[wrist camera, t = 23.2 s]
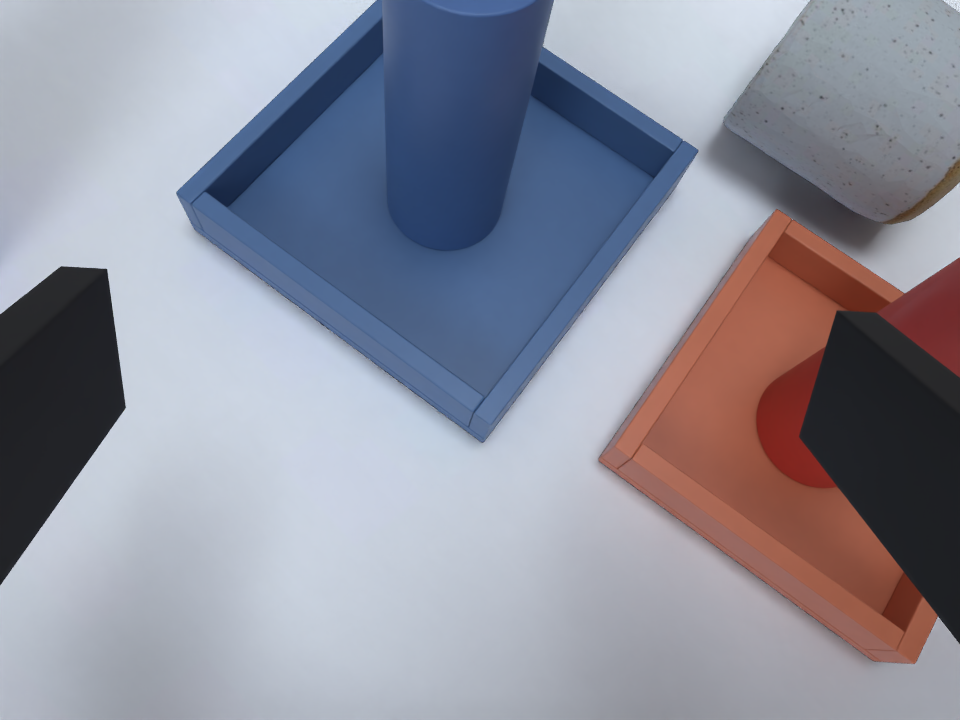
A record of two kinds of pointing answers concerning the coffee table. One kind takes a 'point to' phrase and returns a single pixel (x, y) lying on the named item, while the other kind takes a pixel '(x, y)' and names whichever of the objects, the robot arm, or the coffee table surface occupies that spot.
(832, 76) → the ceramic mug
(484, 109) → the blue peg
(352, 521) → the coffee table surface
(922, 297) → the red peg
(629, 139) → the blue tray
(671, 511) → the orange tray
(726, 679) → the coffee table surface
